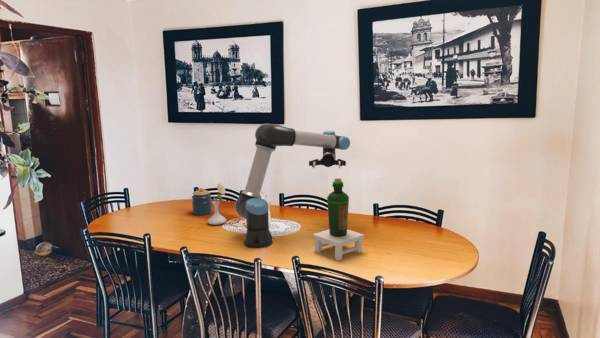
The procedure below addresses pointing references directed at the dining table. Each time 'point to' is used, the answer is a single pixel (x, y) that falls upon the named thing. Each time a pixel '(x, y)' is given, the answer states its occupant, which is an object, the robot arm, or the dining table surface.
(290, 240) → the dining table surface
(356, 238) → the stool
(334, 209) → the bottle
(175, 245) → the dining table surface
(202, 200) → the canister
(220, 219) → the flower in vase
